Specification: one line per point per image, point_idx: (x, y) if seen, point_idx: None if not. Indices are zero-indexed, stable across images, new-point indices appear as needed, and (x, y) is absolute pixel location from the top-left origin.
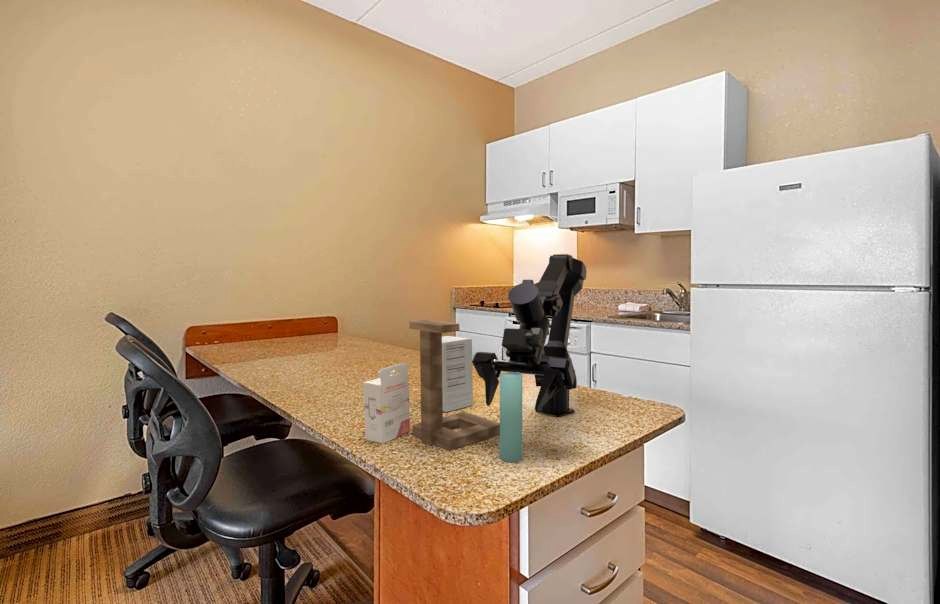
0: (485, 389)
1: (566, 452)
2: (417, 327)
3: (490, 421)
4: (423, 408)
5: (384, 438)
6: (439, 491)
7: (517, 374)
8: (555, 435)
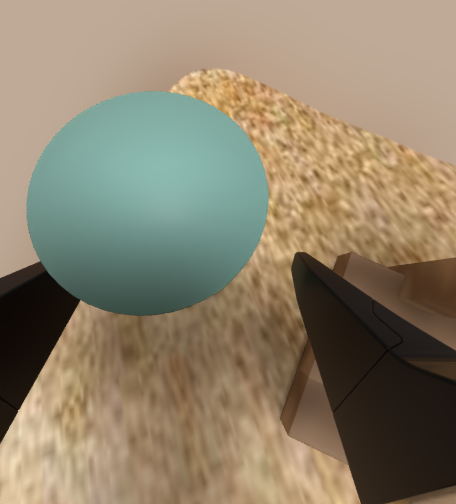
0: (352, 284)
1: (99, 351)
2: None
3: (330, 444)
4: None
5: None
6: (266, 106)
7: (84, 227)
8: (143, 470)
